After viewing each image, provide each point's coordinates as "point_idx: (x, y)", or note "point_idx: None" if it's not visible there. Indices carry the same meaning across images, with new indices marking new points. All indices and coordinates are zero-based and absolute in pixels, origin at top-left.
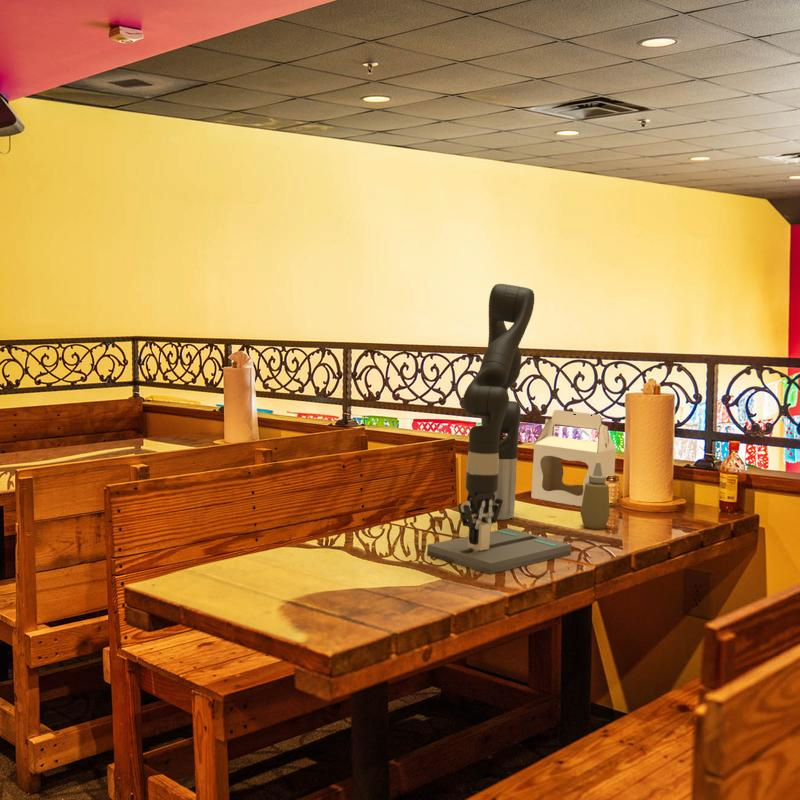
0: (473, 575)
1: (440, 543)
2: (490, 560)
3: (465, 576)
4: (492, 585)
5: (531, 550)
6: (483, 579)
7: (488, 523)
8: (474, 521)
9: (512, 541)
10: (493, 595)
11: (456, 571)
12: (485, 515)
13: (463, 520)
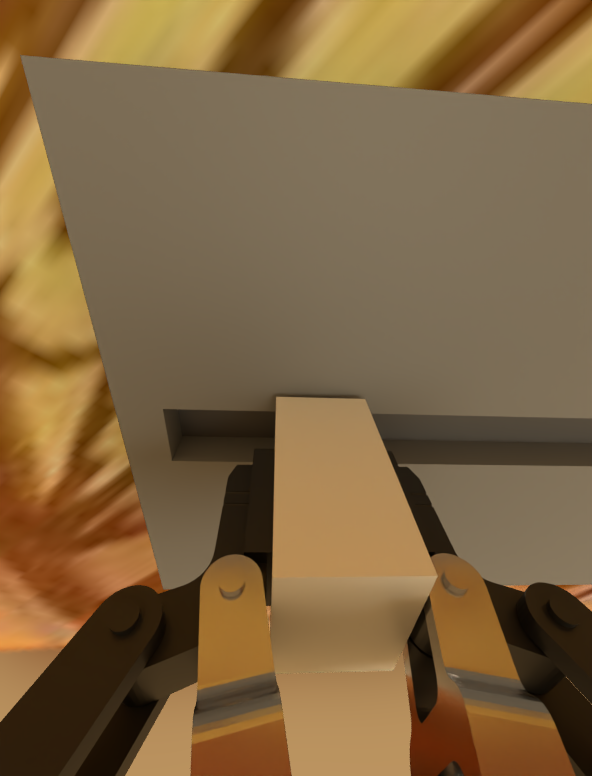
0: (100, 524)
1: (192, 128)
2: (193, 570)
3: (58, 518)
4: (91, 600)
5: (490, 565)
6: (105, 562)
7: (396, 660)
8: (366, 580)
9: None
10: (32, 637)
11: (61, 464)
12: (425, 762)
13: (51, 694)
